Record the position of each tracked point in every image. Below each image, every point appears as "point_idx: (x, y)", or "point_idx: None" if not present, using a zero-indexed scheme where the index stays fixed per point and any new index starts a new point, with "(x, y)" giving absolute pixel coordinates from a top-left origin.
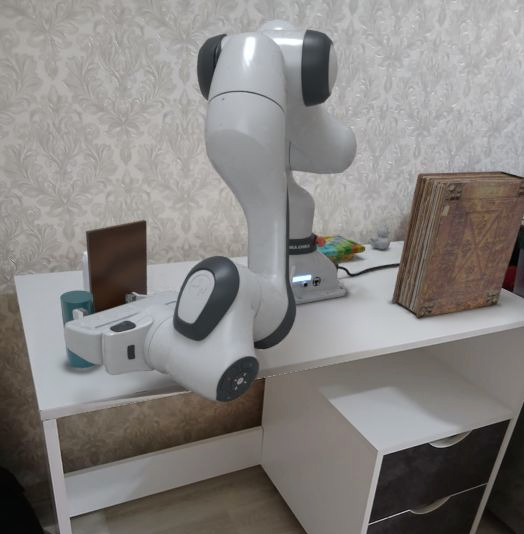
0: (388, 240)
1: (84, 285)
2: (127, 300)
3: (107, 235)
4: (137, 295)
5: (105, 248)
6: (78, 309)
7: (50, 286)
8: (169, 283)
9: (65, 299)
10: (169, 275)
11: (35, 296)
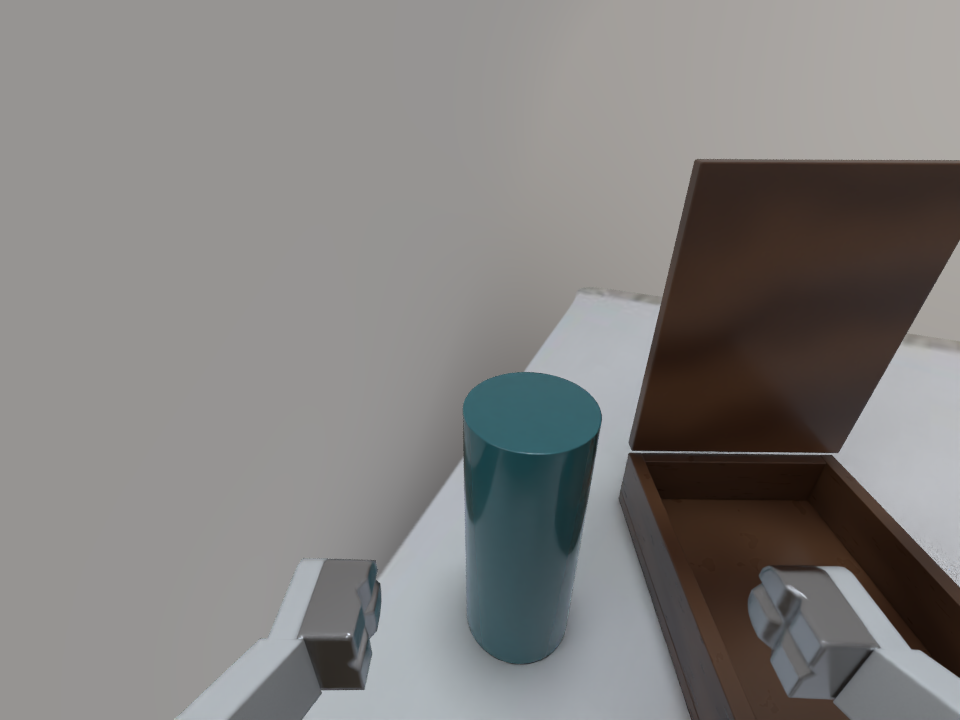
0: None
1: None
2: (765, 609)
3: (782, 194)
4: (889, 655)
5: (753, 246)
6: (324, 579)
7: (613, 324)
8: (906, 401)
9: (478, 406)
10: (908, 377)
11: (573, 336)
